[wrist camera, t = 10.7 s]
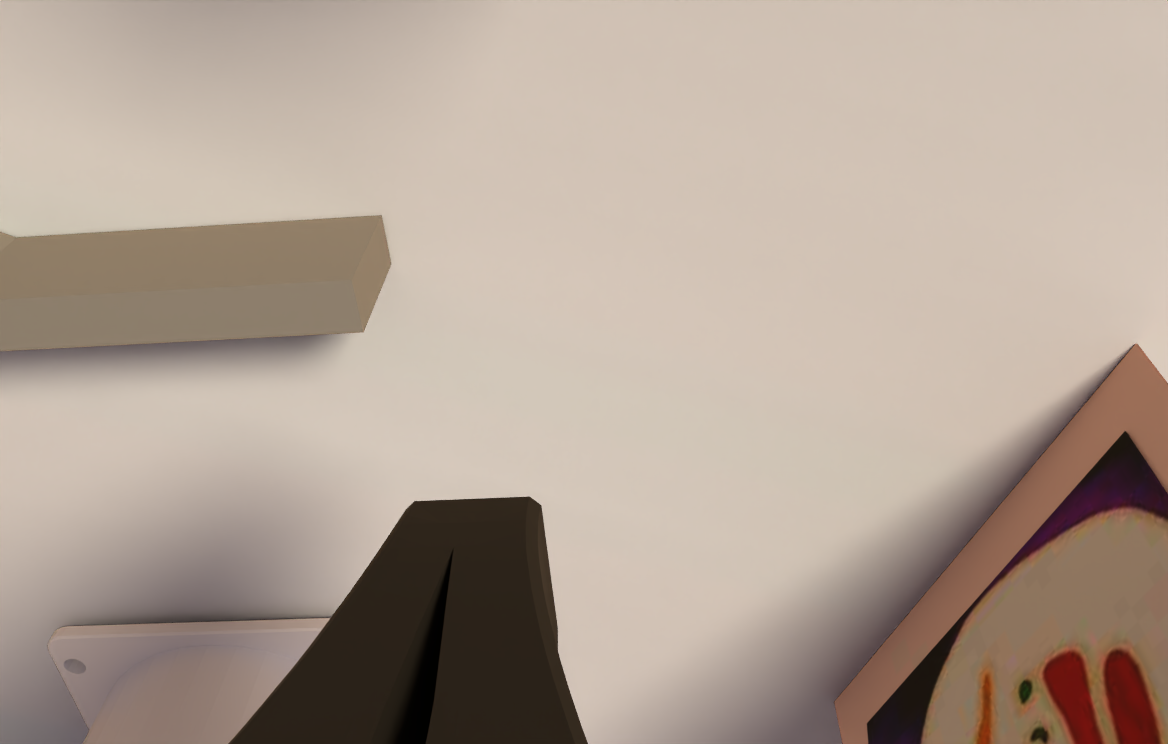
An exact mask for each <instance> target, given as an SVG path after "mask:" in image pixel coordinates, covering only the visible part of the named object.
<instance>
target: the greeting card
mask: <svg viewBox="0 0 1168 744" xmlns="http://www.w3.org/2000/svg"><path fill="white" fill-rule="evenodd" d="M834 704H835V709H836V714H837V719H838V723H839V728H840V733H841V738H842V743H843V744H1168V383H1167V382H1166V380H1165V379H1164V378H1163V377H1162V375H1161V374H1160V373H1159V371H1158V370H1157V369H1156V367H1155V366H1154V365H1153V364H1152V362H1151V361H1150V360H1149V358H1148V357H1147V356H1146V354H1145V353H1144V352H1143V351H1142V349H1141V348H1140V347H1139V345H1138V344H1135V345H1134V346H1133V347H1132V349H1131V350H1130V351H1129V352H1128V353H1127V355H1126V356H1125V357H1124V358H1123V359H1122V361H1121V362H1120V363H1119V364H1118V365H1117V366H1116V368H1115V369H1114V370H1113V371H1112V372H1111V374H1110V375H1109V376H1108V377H1107V378H1106V380H1105V381H1104V382H1103V383H1102V384H1101V385H1100V387H1099V388H1098V389H1097V390H1096V391H1095V393H1094V394H1093V395H1092V396H1091V397H1090V399H1089V400H1088V401H1087V402H1086V403H1085V404H1084V406H1083V407H1082V408H1081V409H1080V410H1079V412H1078V413H1077V414H1076V415H1075V416H1074V418H1073V419H1072V420H1071V421H1070V422H1069V424H1068V425H1067V426H1066V427H1065V428H1064V429H1063V431H1062V432H1061V433H1060V434H1059V435H1058V437H1057V438H1056V439H1055V440H1054V441H1053V443H1052V444H1051V445H1050V446H1049V447H1048V448H1047V450H1046V451H1045V452H1044V453H1043V454H1042V456H1041V457H1040V458H1039V459H1038V460H1037V462H1036V463H1035V464H1034V465H1033V466H1032V468H1031V469H1030V470H1029V471H1028V472H1027V473H1026V475H1025V476H1024V477H1023V478H1022V479H1021V481H1020V482H1019V483H1018V484H1017V485H1016V487H1015V488H1014V489H1013V490H1012V491H1011V492H1010V494H1009V495H1008V496H1007V497H1006V498H1005V500H1004V501H1003V502H1002V503H1001V504H1000V506H999V507H998V508H997V509H996V510H995V511H994V513H993V514H992V515H991V516H990V517H989V519H988V520H987V521H986V522H985V523H984V525H983V526H982V527H981V528H980V529H979V531H978V532H977V533H976V534H975V535H974V536H973V538H972V539H971V540H970V541H969V542H968V544H967V545H966V546H965V547H964V548H963V550H962V551H961V552H960V553H959V554H958V555H957V557H956V558H955V559H954V560H953V561H952V563H951V564H950V565H949V566H948V567H947V569H946V570H945V571H944V572H943V573H942V575H941V576H940V577H939V578H938V579H937V580H936V582H935V583H934V584H933V585H932V586H931V588H930V589H929V590H928V591H927V592H926V594H925V595H924V596H923V597H922V598H921V599H920V601H919V602H918V603H917V604H916V605H915V607H914V608H913V609H912V610H911V611H910V613H909V614H908V615H907V616H906V617H905V618H904V620H903V621H902V622H901V623H900V624H899V626H898V627H897V628H896V629H895V630H894V632H893V633H892V634H891V635H890V636H889V638H888V639H887V640H886V641H885V642H884V643H883V645H882V646H881V647H880V648H879V649H878V651H877V652H876V653H875V654H874V655H873V657H872V658H871V659H870V660H869V661H868V662H867V664H866V665H865V666H864V667H863V668H862V670H861V671H860V672H859V673H858V674H857V676H856V677H855V678H854V679H853V680H852V682H851V683H850V684H849V685H848V686H847V687H846V689H845V690H844V691H843V692H842V693H841V695H840V696H839V697H838V698H837V699H836V701H835V702H834Z"/></svg>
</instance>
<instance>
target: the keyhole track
mask: <svg viewBox="0 0 1168 744" xmlns="http://www.w3.org/2000/svg"><path fill="white" fill-rule="evenodd" d="M390 266H391V260H390V255H389V250H388V245H387V240H386V235H385V230H384V225H383V220H382V215H380V216H363V217H347V218H330V219H314V220H297V221H281V222H264V223H248V224H231V225H215V226H198V227H182V228H165V229H149V230H132V231H116V232H99V233H83V234H66V235H50V236H33V237H17V238H16V237H13V236H10V235H7V234H5V233H2V232H0V351H15V350H34V349H54V348H73V347H92V346H111V345H130V344H149V343H168V342H187V341H206V340H226V339H245V338H264V337H283V336H302V335H321V334H340V333H359V332H364V330H365V327H366V325H367V322H368V320H369V318H370V315H371V313H372V310H373V308H374V305H375V303H376V300H377V298H378V295H379V293H380V291H381V288H382V286H383V283H384V281H385V278H386V276H387V273H388V271H389V268H390Z"/></svg>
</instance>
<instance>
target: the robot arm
mask: <svg viewBox="0 0 1168 744" xmlns="http://www.w3.org/2000/svg"><path fill="white" fill-rule="evenodd" d="M47 647H48V651H49V653H50V655H51V657H52V659H53V661H54V663H55V665H56V667H57V669H58V671H59V672H60V674H61V676H62V678H63V680H64V682H65V684H66V686H67V688H68V690H69V692H70V694H71V696H72V698H73V700H74V702H75V704H76V706H77V708H78V709H79V711H80V713H81V715H82V717H83V719H84V721H85V723H86V725H87V727H88V729H89V732H88V734H87V736H86V738H85V740H84V742H83V744H588V743H587V740H586V737H585V735H584V732H583V729H582V726H581V724H580V721H579V718H578V715H577V712H576V709H575V706H574V703H573V700H572V697H571V694H570V691H569V688H568V685H567V681H566V678H565V674H564V671H563V668H562V664H561V661H560V658H559V654H558V627H557V620H556V612H555V605H554V597H553V590H552V582H551V575H550V567H549V560H548V552H547V545H546V537H545V530H544V522H543V515H542V508H541V505H540V504H539V503H537V502H536V501H535V500H533V499H532V498H531V497H510V498H485V499H460V500H435V501H414V502H413V503H412V504H411V505H410V506H409V507H408V508H407V509H406V510H405V512H404V513H403V515H402V516H401V518H400V519H399V521H398V522H397V524H396V525H395V527H394V529H393V530H392V532H391V533H390V535H389V536H388V538H387V539H386V541H385V542H384V543H383V545H382V546H381V548H380V549H379V551H378V552H377V554H376V555H375V557H374V558H373V560H372V561H371V563H370V564H369V566H368V567H367V568H366V570H365V571H364V573H363V574H362V576H361V577H360V578H359V580H358V581H357V583H356V584H355V585H354V587H353V588H352V590H351V591H350V593H349V594H348V595H347V597H346V598H345V600H344V601H343V602H342V604H341V605H340V606H339V608H338V609H337V610H336V612H335V613H334V614H333V616H332V617H331V618H313V619H282V620H250V621H219V622H188V623H157V624H126V625H95V626H66V627H61V628H59V629H57V630H56V631H55V632H54V633H53V635H52V637H51V638H50V640H49V642H48V645H47Z"/></svg>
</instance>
